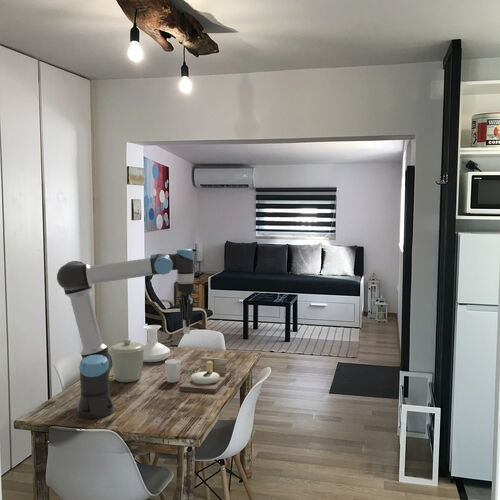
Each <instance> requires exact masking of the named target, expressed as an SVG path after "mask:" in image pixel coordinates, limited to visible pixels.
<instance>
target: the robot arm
mask: <svg viewBox="0 0 500 500" xmlns="http://www.w3.org/2000/svg"><path fill="white" fill-rule="evenodd" d="M194 258H195V257H194V250H192V249H191V248H178V249H177V250H176V253H152V254H151V255H150V257H148V258H141V259H134V260H133V259H132V260H126V261H117V262H112V263H104V264H97V265H96V264H95V265H89V264H88V263H84V262H82V261H79V260H71V261H68V262H66V263H65V264H63V265H62V266H61V267H60V268H59V269H58V271H57V274H56V281H57V283H58V285H59V286H60V287H61V288H62V289H63V291H64V294H65V296H67V297H68V298H69V299H70V303H71V307H72V311H73V315H74V318H75V323H76V325H77V326H76V327H77V329H78V333H79V337H80V340H81V344H82V350H81V352H80V356H81V359H80V361H79V375H80V376H79V377H80V378H79V379H80V380H79V381H80V382H79V385H80V397H79V401H78V404H77V407H76V415H78V416H77V417H78V418H81V419H84V420H85V419H86V420H87V419H88V420H89V419H90V420H93V419H100V418H104V417H107V416H109V415H111V414H113V413H114V410H115V409H114V407H115V406H114V403H113V400H112V398H111V395H110V384H109V383H110V381H109V380H110V379H109V377H110V372H111V371H112V369H113V367H112V357H111V353H110V351H109V348H108V345H106V344H105V343H103V339H102V336H101V335H102V334H101V332H100V328H99V324H98V319H97V316H96V313H95V309H94V305H93V302H92V296H91V294H90V293H91V290H92V289H93V287H92V285H93V284H94V285H95V284H102V283H108V282H115V281H122V280H129V279H134V278H142V277H148V276H149V277H150V276H156V275H168V274H169V273H170V272H171V271H176V279H177V280H176V281H177V292H179V294H180V295H178V296H177V299H178V304H179V313H180V317H181V319H182V334H184V335H188V334H191V329H190V327H191V326H190V325H191V324H190V322H191V319H193V311H194V304H195V303H194V302H195V299H194V298H192V292H194V291H195V283H194V282H195V280H194V279H195V274H194V271H195V270H194V269H195V268H194V267H195V266H194V265H195V262H194V261H195V259H194Z"/></svg>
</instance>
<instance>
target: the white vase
mask: <svg viewBox="0 0 500 500" xmlns="http://www.w3.org/2000/svg"><path fill="white" fill-rule="evenodd" d="M142 328H143V329H145V331H147V343H144V344H143V345H144V346H145V349H144V356H143V363H157V362H161V361H165V360H166V359H167V358H168V357H169V356H170V355H171V349H170V348H169V347H167V346H166V345H164V344H163V343H160V342H158V330H160V328H162V326H161V325H160V324H159V325H158V324H149V325H144V326H143V327H142Z"/></svg>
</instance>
